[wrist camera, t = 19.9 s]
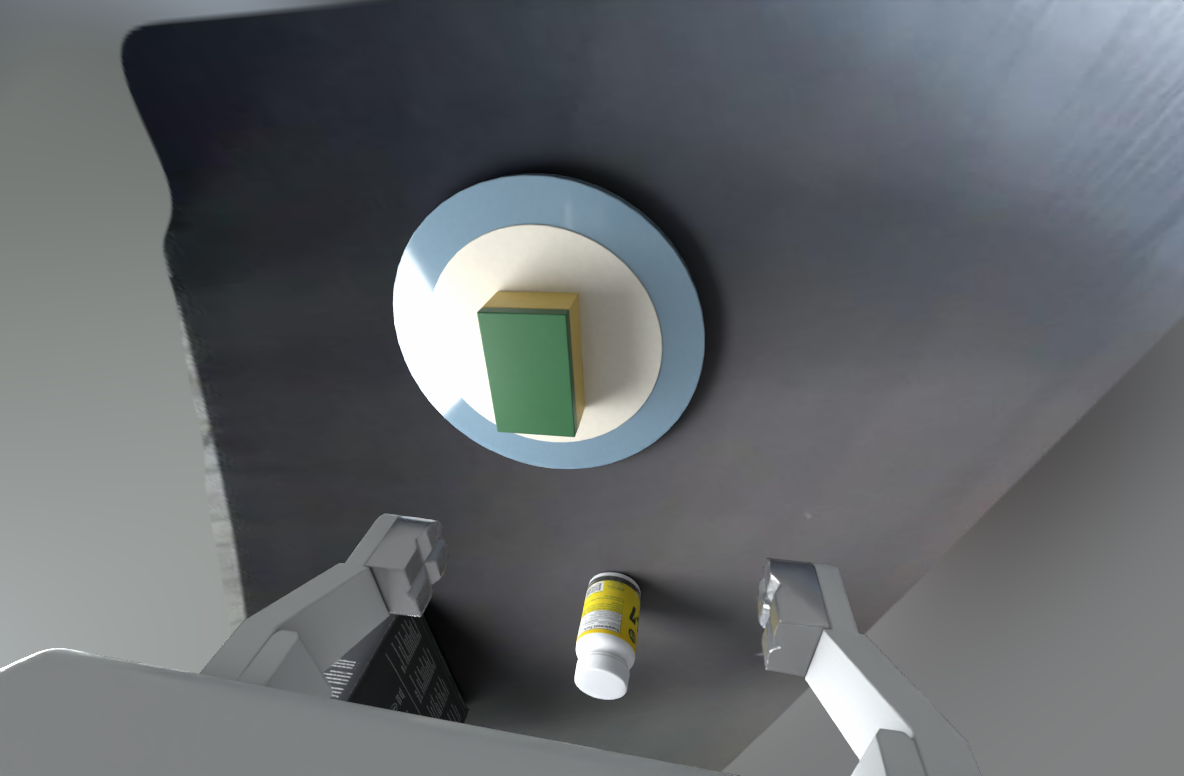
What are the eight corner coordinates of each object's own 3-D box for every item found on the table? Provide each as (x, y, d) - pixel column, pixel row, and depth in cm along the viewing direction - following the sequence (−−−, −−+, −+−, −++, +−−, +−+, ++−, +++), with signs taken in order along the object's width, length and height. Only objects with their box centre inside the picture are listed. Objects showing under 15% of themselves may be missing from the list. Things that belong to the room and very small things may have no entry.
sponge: (497, 290, 29) (476, 312, 26) (578, 292, 28) (566, 314, 25) (513, 403, 33) (496, 432, 30) (585, 407, 32) (575, 438, 29)
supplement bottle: (640, 608, 44) (631, 708, 37) (589, 601, 44) (570, 697, 37) (642, 573, 41) (633, 673, 34) (588, 566, 42) (567, 662, 35)
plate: (362, 176, 28) (352, 179, 27) (719, 167, 24) (720, 170, 24) (435, 451, 38) (429, 459, 37) (694, 471, 35) (694, 480, 34)
